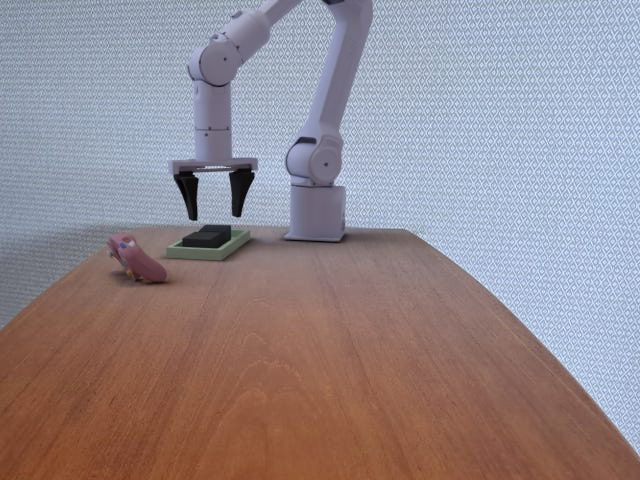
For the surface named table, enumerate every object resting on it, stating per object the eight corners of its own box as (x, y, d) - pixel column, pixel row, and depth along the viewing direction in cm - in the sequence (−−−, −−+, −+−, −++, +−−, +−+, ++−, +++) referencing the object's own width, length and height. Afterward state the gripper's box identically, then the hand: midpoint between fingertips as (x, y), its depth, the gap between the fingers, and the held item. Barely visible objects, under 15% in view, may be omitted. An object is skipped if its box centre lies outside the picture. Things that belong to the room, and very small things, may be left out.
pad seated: (195, 246, 108) (194, 231, 107) (221, 247, 107) (221, 232, 106) (182, 254, 102) (181, 238, 101) (210, 255, 101) (210, 239, 100)
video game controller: (122, 280, 95) (95, 237, 91) (149, 263, 96) (124, 220, 92) (141, 297, 87) (113, 251, 83) (171, 278, 87) (145, 231, 84)
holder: (202, 236, 118) (202, 227, 117) (250, 239, 116) (250, 229, 115) (166, 257, 102) (166, 247, 101) (221, 260, 100) (221, 249, 99)
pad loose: (205, 238, 114) (205, 224, 113) (231, 239, 113) (231, 224, 113) (198, 245, 108) (198, 230, 107) (225, 246, 108) (225, 231, 107)
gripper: (244, 128, 111) (244, 212, 116) (160, 129, 105) (164, 218, 110) (264, 129, 105) (263, 217, 110) (175, 131, 99) (179, 224, 104)
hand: (215, 218), depth 109 cm, fingers open, 7 cm apart
